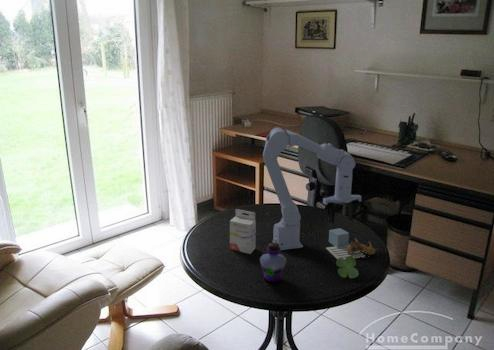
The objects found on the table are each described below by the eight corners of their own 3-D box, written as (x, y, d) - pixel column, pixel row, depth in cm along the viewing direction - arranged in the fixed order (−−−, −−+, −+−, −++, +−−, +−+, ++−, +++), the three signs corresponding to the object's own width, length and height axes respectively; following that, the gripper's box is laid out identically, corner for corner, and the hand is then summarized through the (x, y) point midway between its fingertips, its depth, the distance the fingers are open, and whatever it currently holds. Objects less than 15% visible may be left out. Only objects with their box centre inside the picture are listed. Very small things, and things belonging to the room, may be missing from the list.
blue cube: (338, 235, 150) (329, 230, 155) (337, 247, 151) (328, 242, 156) (349, 233, 152) (340, 228, 157) (348, 245, 153) (339, 240, 158)
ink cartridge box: (229, 250, 150) (228, 212, 146) (235, 244, 154) (235, 208, 150) (250, 254, 146) (250, 216, 142) (256, 249, 150) (256, 211, 146)
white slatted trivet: (338, 260, 142) (338, 259, 142) (325, 248, 151) (325, 247, 151) (369, 256, 145) (369, 255, 145) (354, 244, 155) (354, 243, 155)
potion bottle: (260, 285, 126) (261, 250, 123) (258, 271, 135) (258, 238, 131) (288, 285, 127) (289, 250, 124) (284, 271, 135) (285, 237, 132)
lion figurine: (345, 246, 152) (345, 256, 145) (346, 236, 150) (347, 245, 143) (378, 251, 150) (380, 261, 143) (380, 240, 148) (382, 250, 142)
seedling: (348, 285, 136) (349, 284, 130) (330, 267, 138) (330, 266, 132) (363, 269, 136) (365, 268, 130) (344, 252, 139) (345, 250, 133)
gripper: (330, 190, 142) (327, 226, 146) (367, 187, 146) (364, 222, 149) (321, 184, 148) (319, 219, 152) (356, 181, 152) (354, 215, 156)
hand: (340, 220), depth 151 cm, fingers open, 7 cm apart
